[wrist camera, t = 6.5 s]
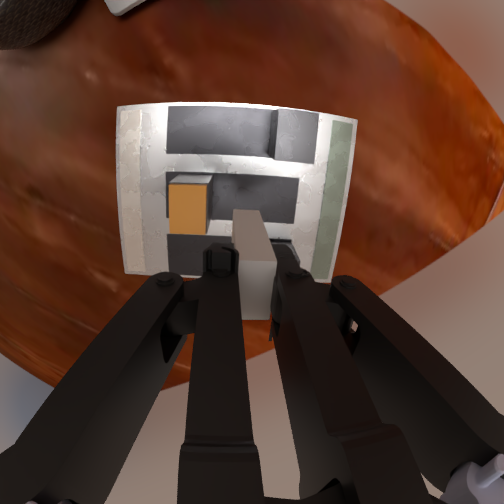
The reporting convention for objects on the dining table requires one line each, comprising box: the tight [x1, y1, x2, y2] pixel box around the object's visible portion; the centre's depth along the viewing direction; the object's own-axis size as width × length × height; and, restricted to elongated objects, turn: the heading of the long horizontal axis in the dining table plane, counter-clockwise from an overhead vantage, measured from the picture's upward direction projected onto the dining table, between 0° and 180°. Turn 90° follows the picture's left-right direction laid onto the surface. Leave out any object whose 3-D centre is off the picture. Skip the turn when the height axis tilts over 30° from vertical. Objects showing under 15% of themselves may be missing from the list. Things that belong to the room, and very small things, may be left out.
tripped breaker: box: [169, 174, 213, 235], centre depth 22 cm, size 3×4×4 cm
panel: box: [116, 102, 357, 283], centre depth 24 cm, size 22×17×6 cm
